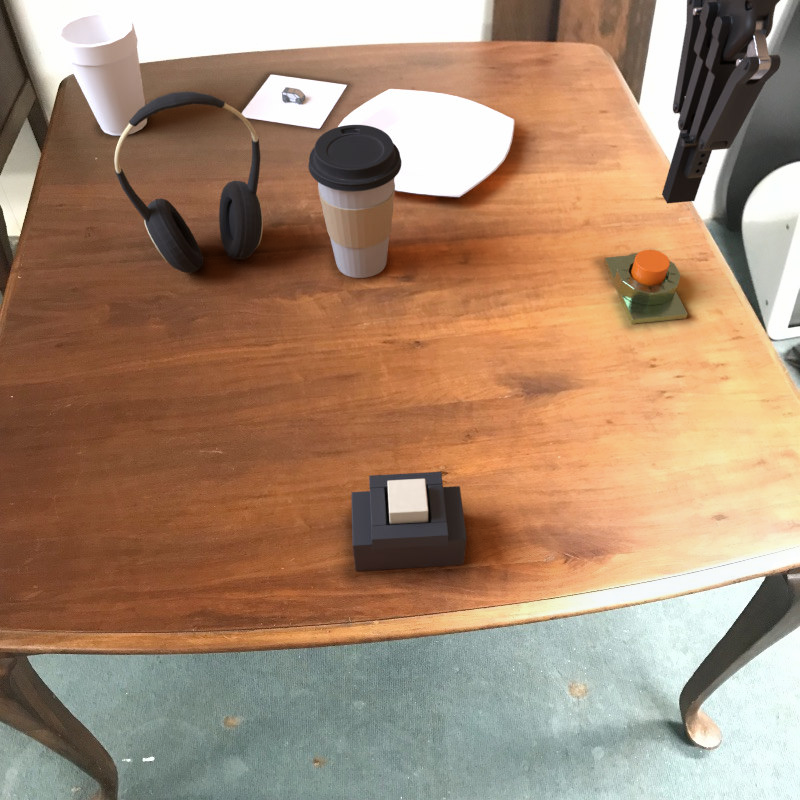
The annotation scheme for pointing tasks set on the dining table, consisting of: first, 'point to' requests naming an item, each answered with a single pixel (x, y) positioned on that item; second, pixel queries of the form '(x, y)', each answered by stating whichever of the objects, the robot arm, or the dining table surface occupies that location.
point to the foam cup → (105, 67)
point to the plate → (438, 139)
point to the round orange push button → (650, 267)
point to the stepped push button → (407, 527)
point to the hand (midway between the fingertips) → (678, 197)
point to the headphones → (236, 203)
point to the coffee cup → (357, 194)
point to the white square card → (294, 101)
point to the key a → (407, 501)
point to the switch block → (645, 292)
